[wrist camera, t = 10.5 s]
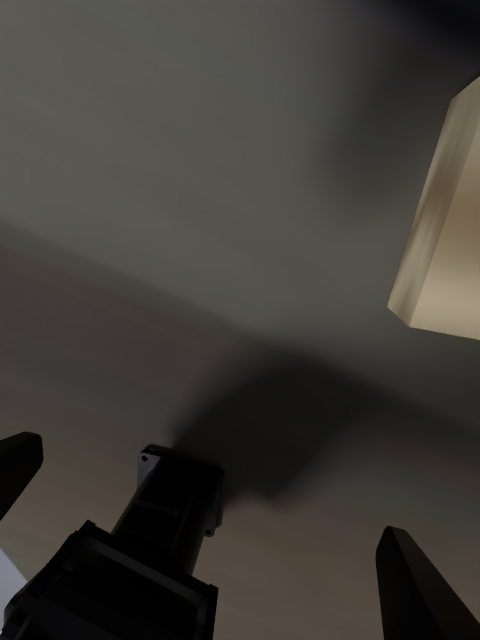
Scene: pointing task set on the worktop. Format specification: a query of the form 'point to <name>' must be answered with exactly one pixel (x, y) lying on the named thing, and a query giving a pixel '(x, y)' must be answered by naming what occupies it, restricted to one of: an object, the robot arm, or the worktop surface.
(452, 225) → the birch block
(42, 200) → the worktop surface
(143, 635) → the robot arm
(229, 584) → the worktop surface
